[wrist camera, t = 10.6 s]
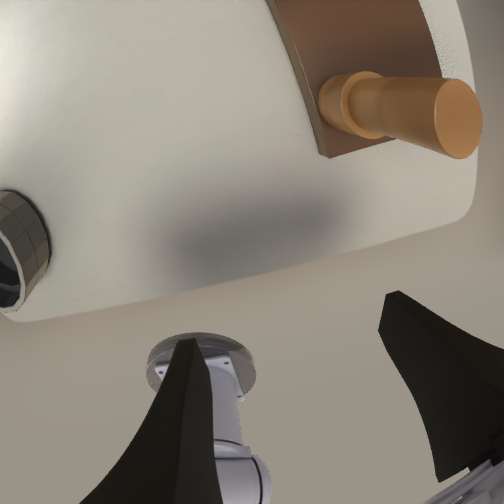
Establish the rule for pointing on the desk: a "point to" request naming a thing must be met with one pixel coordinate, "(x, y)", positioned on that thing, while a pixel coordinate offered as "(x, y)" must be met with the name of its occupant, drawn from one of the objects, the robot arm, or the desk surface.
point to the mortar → (20, 251)
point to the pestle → (405, 110)
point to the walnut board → (352, 51)
